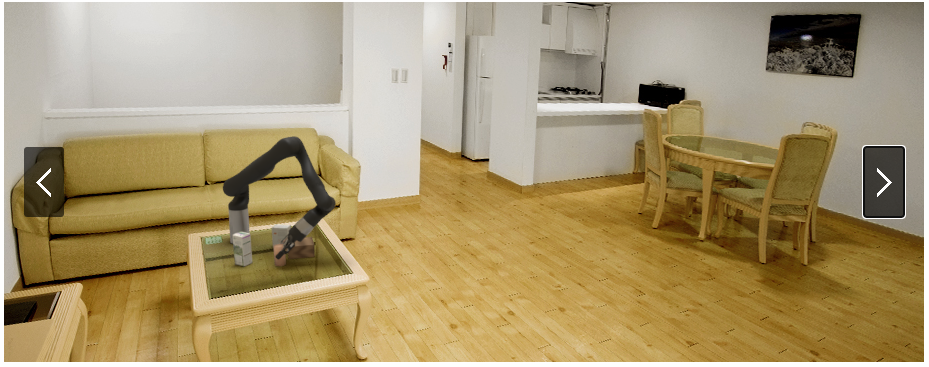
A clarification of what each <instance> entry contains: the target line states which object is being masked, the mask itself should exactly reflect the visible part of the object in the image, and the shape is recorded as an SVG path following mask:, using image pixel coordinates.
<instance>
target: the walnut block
mask: <svg viewBox="0 0 929 367" xmlns="http://www.w3.org/2000/svg"><path fill="white" fill-rule="evenodd" d="M315 256H316V254H315V243H314V240H313V237H312V236H306V237H305V238H304V239H303V240H302V241H301V242H299V241H296V242H295V246H294V247H293V248H292V249H291V250H290V251H289V252H288V253H287V258H288V260H289V259H290V260H291V259H292V260H293V259H301V258H302V259H303V258H304V259H305V258H313V257H315Z"/></svg>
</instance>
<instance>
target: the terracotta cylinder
mask: <svg viewBox="0 0 929 367" xmlns="http://www.w3.org/2000/svg"><path fill="white" fill-rule="evenodd" d="M283 245H284V244H276V245H274V247H273V257H274V258H273V261H274V263H273V264H274V266H275V267H283V266H285V265H287V258H286V257H287V256H286V255H287V254H284V255H283V256H282V257H281V258H280V259H279V260H278V259H277V258H276V257H275V256H276V255H277V254H278V253H279V252H280V251H281V249H282V248H283Z"/></svg>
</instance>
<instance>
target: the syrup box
mask: <svg viewBox="0 0 929 367" xmlns="http://www.w3.org/2000/svg"><path fill="white" fill-rule="evenodd" d="M232 236H233V243H232V244H233V247H232V248H233V258H234V265H235V266H241V267H246V266H248V265H252V263H253V254H252V253H253V251H252V240H251V239H252V238H251V233H245V232H238V233H236V234H234V235H232Z"/></svg>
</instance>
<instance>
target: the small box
mask: <svg viewBox="0 0 929 367" xmlns="http://www.w3.org/2000/svg"><path fill="white" fill-rule="evenodd" d="M291 228H292V225H291V224H278V223H276V224H274V225H273V226H272V227H271V236H272V237H271V238H272V240H271V241H272V248H274V245H276V244H280V243H281V241H282V240H283V239H284V238H285V237H286V236H287V235H288V234H289V230H290V229H291Z"/></svg>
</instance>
